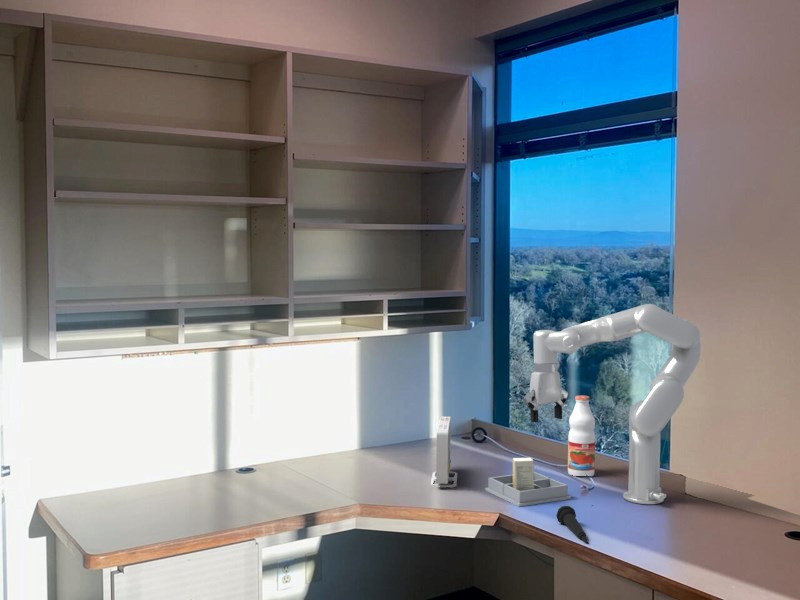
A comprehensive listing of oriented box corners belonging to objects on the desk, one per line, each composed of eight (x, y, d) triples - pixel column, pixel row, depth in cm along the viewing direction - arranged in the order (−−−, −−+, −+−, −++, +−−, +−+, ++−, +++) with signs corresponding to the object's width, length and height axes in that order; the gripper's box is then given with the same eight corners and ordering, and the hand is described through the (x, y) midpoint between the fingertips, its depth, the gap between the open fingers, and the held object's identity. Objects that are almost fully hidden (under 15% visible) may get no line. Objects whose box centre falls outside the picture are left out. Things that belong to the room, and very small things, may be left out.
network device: (433, 470, 303) (434, 415, 301) (457, 470, 302) (458, 416, 301) (429, 489, 277) (429, 430, 276) (455, 490, 276) (456, 430, 275)
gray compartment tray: (571, 498, 267) (571, 485, 267) (518, 506, 259) (519, 493, 259) (534, 483, 285) (535, 470, 285) (484, 490, 277) (485, 477, 277)
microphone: (592, 554, 227) (567, 522, 246) (600, 535, 226) (574, 504, 245) (574, 549, 226) (551, 517, 245) (581, 530, 225) (557, 500, 244)
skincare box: (531, 494, 268) (531, 457, 268) (534, 498, 264) (534, 460, 263) (511, 494, 268) (512, 457, 267) (514, 498, 264) (514, 460, 263)
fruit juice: (591, 471, 302) (593, 394, 301) (596, 478, 293) (598, 398, 291) (565, 470, 303) (567, 394, 301) (569, 477, 293) (571, 398, 292)
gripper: (559, 364, 279) (560, 415, 280) (517, 369, 271) (518, 421, 272) (573, 367, 272) (574, 419, 273) (531, 371, 264) (532, 425, 265)
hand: (546, 420), depth 272 cm, fingers open, 9 cm apart
